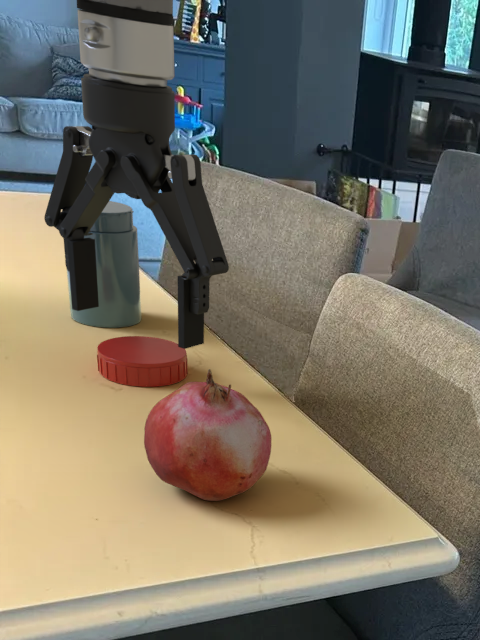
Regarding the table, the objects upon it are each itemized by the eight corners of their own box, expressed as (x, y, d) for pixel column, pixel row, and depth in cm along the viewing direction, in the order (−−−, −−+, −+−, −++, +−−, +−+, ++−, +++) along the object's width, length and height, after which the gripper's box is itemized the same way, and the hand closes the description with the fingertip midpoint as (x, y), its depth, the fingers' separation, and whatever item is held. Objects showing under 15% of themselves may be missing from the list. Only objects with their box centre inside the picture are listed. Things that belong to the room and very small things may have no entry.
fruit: (158, 458, 73) (153, 338, 68) (274, 469, 74) (278, 352, 69) (132, 508, 65) (125, 378, 60) (263, 520, 67) (266, 393, 61)
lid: (142, 352, 93) (141, 330, 92) (205, 374, 91) (204, 352, 89) (79, 369, 87) (77, 346, 86) (144, 393, 84) (143, 370, 83)
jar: (61, 322, 98) (50, 206, 91) (82, 304, 104) (73, 194, 98) (131, 331, 98) (125, 217, 92) (148, 312, 105) (144, 204, 98)
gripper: (-14, 49, 76) (13, 298, 87) (214, 104, 68) (211, 370, 79) (56, 55, 82) (73, 288, 93) (274, 106, 74) (263, 353, 85)
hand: (137, 326), depth 86 cm, fingers open, 13 cm apart
